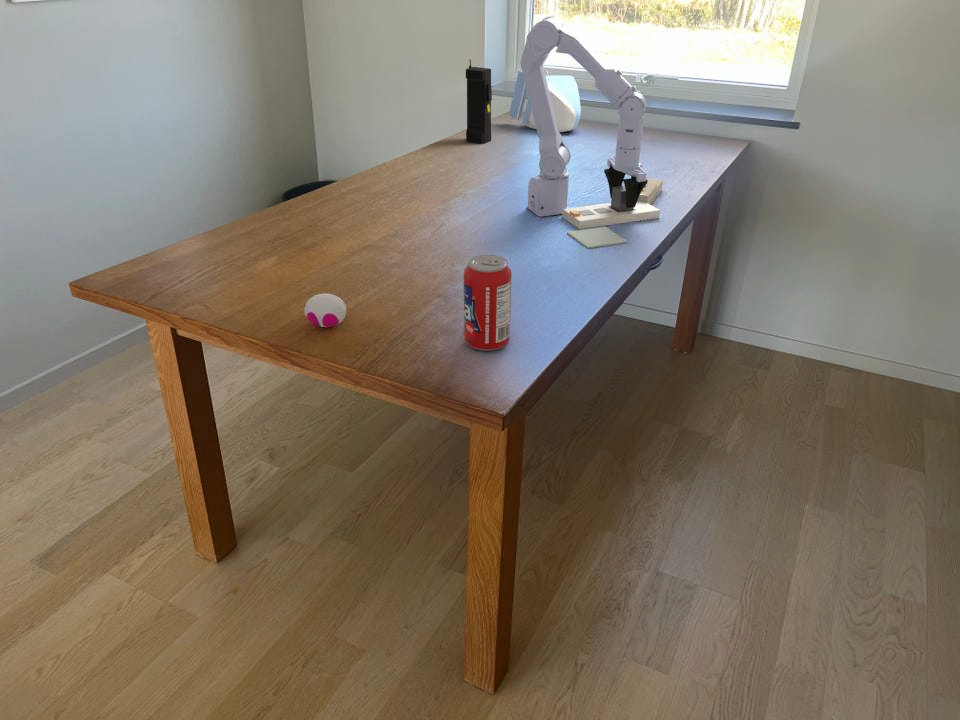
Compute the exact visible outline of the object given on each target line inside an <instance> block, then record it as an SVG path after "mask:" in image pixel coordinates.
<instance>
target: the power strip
mask: <svg viewBox="0 0 960 720" xmlns="http://www.w3.org/2000/svg"><path fill="white" fill-rule="evenodd" d="M660 214H661V209H659V208H657V207H655V206H653V205H652V204H651V205H650V204H648V203H647V202H643V201H637V203H636V206H635V207H634V209H633V211H626V212H619V213H618V212H617V211H615V210H613V209H612V208H611V202H607V203H599V204H593V205H592V204H591V205H584V206H577V207H576V206H575V207H569V208H567V209H563V211H562V214H561V217H562V218H563V219H564V220H566V221H567V222H569V223H570V224H571V225H573V227H576V228H577V229H578V230H584V229H591V228H598V227H606V226H612V225H618V224H624V223H625V224H626V223H633V221H634V222H639V221H640V220H641V221H648V220H654V219H659V218H660ZM647 219H648V220H647ZM641 221H640V222H641Z"/></svg>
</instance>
